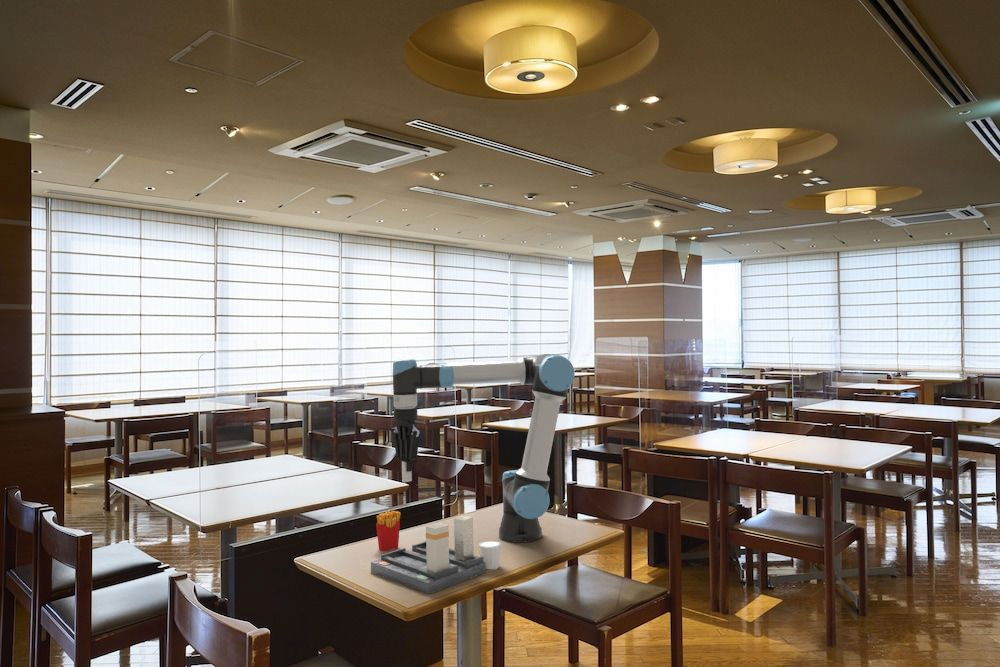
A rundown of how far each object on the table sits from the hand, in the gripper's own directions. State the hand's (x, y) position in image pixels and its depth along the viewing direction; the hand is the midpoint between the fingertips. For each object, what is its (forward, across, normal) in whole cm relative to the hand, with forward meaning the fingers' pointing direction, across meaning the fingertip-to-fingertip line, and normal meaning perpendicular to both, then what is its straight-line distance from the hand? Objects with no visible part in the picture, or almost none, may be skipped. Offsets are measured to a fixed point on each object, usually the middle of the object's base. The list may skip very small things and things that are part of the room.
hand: (407, 481), depth 211 cm
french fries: (+25, -13, +2) cm, 28 cm away
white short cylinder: (+25, +26, +11) cm, 37 cm away
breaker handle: (+21, +24, -8) cm, 33 cm away
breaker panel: (+24, +15, -4) cm, 29 cm away
